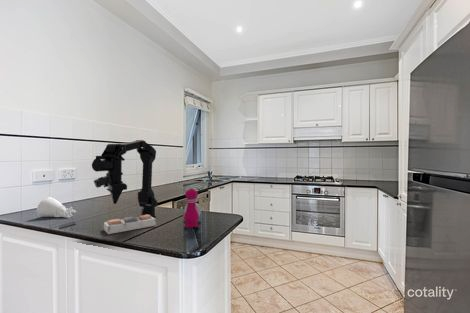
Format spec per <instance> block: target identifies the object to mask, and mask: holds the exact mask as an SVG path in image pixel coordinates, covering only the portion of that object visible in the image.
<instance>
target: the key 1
mask: <svg viewBox="0 0 470 313" xmlns="http://www.w3.org/2000/svg"><path fill="white" fill-rule="evenodd" d="M121 220H122V219H120V218H114V219H113V218H112V219H108V220H107V222H108V225H109V226H111V225H118V224H121Z"/></svg>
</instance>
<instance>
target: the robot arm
mask: <svg viewBox="0 0 470 313" xmlns="http://www.w3.org/2000/svg"><path fill="white" fill-rule="evenodd" d="M133 150H136V153H138V154H139V159H140V161H141V162H142V177H141V178H142V181H141V182H142V183H141V190H140V191H138V192H137V201H138V202H137V203H138V206H139V207H141V210H140V215H147V214H148V215H150V216H151V217H153V218H157V216H156V207H158V205H159V204H158V203H159V202H158V200H157V199H156V197H155V192H154V190H153V189H152V183H153V182H152V179H153V178H152V177H153V163H154V161H155V160H156V155H157V150H156V149H155V148H154V147H153V145H151V144H149V143H148V142H146V141H145V140H143V139H136V140H134V141H130V142H124V143H108V144H107V145H105V149H104V150H103V152H102V153H101V155H95V159H93V161H92V163H91V168H92V170H93V171H94V172H96V173H97V172H106V175H105V176H101V177H98V178H97V179H94V180H93V183H94V185H95V187H96V188H98V189H99V188H101V187H102V186H103V187H104V188H106V190H107V191H108V192H109V193H110V197H111V200H112V204H113V205H116V204H118V201H119V198H120V196H121V194H122V193H123V191H126V190H128V185H127V184H126V183H124V181H123V180H122V177H123V175H124V173H123V171H122V169H123V168H122V163H123V162H124V161H125V157H123V155H125V154H127V152H129V151H133ZM122 161H123V162H122Z"/></svg>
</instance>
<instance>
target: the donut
mask: <svg viewBox="0 0 470 313" xmlns="http://www.w3.org/2000/svg"><path fill="white" fill-rule="evenodd" d="M186 210H187V203H186V204H185V206H184V208H183V213H184V215H185V212H186ZM196 210H197V212H198V215H199V217H200V215H201V212H202V211H201V206H200V205H199V204H198V203H197V202H196Z"/></svg>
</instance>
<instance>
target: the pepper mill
mask: <svg viewBox="0 0 470 313" xmlns="http://www.w3.org/2000/svg"><path fill="white" fill-rule="evenodd" d="M198 196H199V194H198V191H197V190H196V189H195V188H194V186H193V185H190V186H189V188H188V189H187V190H186V191H185V197H186V204H187V210H186V212H185V214H184V215H183V220H184V221H185V222H184V227H185V228H186V227H187V229H194V228H193V227H195V228H197V227H198V226H199V222H198V220H200V216H199V215H198V212H197V210H196V203H197V197H198Z"/></svg>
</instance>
